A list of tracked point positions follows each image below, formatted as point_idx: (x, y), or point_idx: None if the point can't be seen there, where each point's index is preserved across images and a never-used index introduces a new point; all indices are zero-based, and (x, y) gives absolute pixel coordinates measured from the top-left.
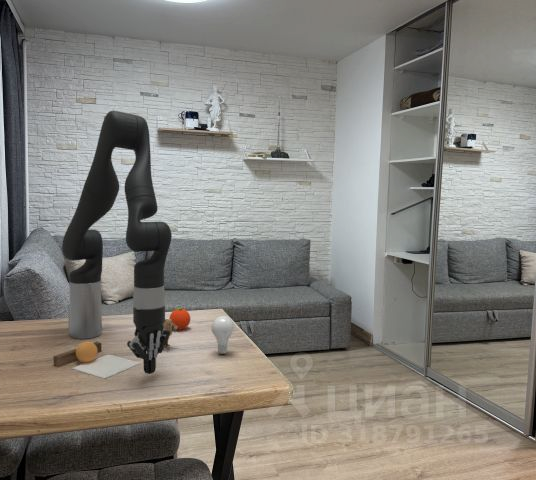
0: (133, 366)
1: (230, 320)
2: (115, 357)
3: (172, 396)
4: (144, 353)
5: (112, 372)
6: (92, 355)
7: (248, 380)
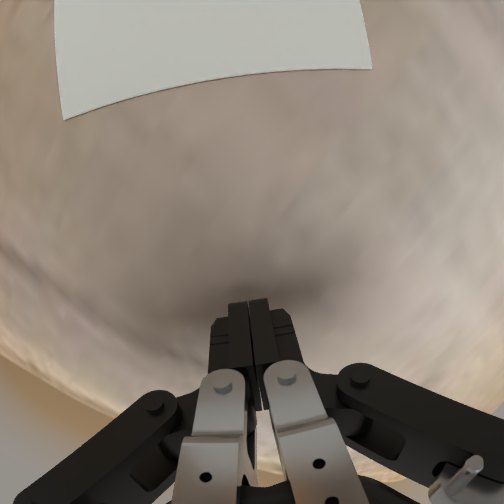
0: (308, 69)
1: None
2: None
3: None
4: (168, 478)
5: (139, 64)
6: None
7: None
